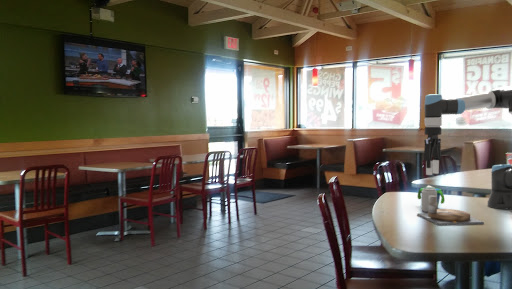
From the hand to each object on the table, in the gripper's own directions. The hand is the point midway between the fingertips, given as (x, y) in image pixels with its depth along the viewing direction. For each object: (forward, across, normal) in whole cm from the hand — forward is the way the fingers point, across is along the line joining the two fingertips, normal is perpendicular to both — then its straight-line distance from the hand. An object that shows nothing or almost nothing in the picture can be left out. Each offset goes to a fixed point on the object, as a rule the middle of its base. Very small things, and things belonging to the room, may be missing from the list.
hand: (432, 174), depth 204 cm
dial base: (+21, 0, +8) cm, 22 cm away
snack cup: (+21, -23, -10) cm, 33 cm away
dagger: (+21, -51, -22) cm, 59 cm away
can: (+21, -12, -7) cm, 25 cm away
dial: (+20, 0, +8) cm, 21 cm away
